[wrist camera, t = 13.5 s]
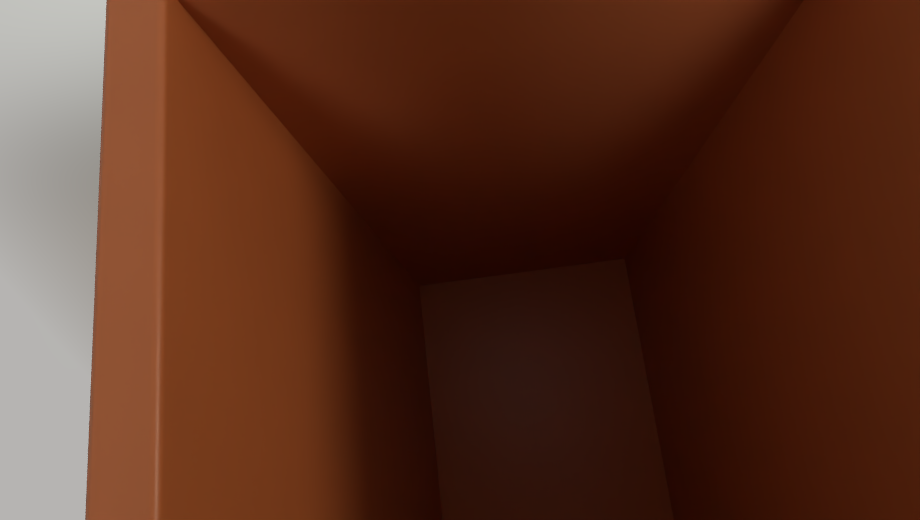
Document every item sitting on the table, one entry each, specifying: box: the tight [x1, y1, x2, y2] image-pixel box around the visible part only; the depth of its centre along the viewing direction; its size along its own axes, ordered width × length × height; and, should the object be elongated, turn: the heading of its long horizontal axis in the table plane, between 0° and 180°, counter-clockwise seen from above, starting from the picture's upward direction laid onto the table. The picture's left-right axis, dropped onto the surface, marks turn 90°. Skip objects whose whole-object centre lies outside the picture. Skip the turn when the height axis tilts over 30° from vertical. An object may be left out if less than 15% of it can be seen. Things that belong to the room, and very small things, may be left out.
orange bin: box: [85, 0, 920, 520], centre depth 7 cm, size 8×5×10 cm, turn 7°
